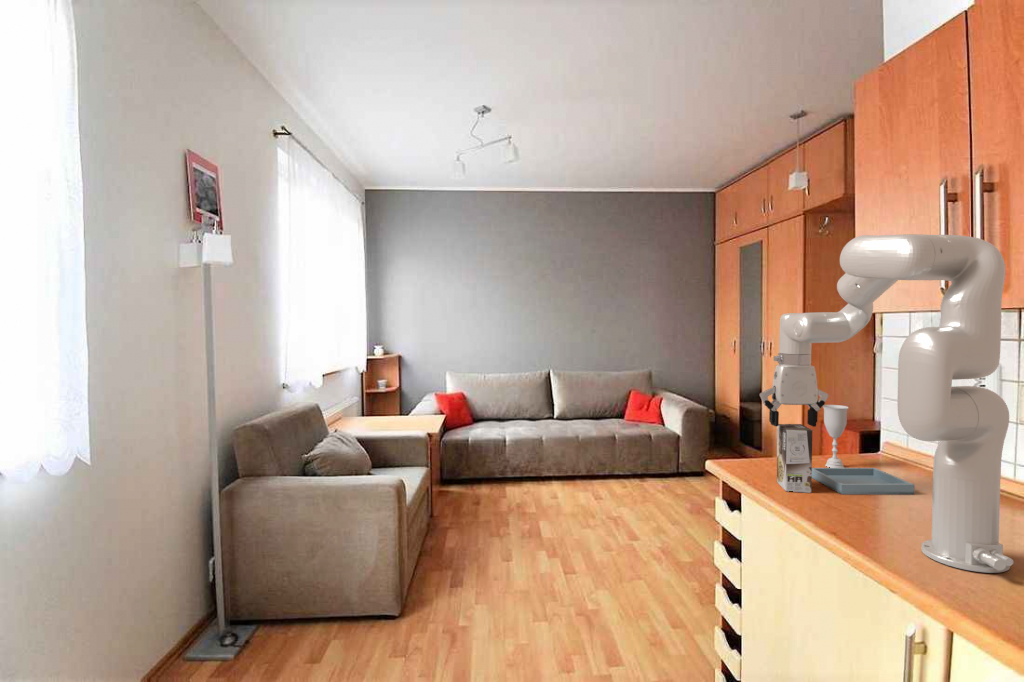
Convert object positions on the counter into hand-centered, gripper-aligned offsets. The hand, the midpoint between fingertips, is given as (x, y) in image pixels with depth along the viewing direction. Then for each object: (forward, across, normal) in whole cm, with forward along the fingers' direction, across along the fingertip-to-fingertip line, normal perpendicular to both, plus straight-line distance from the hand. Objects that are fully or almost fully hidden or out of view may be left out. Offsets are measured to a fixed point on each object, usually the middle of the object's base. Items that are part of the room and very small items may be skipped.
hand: (793, 425), depth 146 cm
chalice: (+17, +22, +20) cm, 34 cm away
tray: (+16, +18, +1) cm, 24 cm away
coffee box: (+16, 0, -1) cm, 17 cm away
